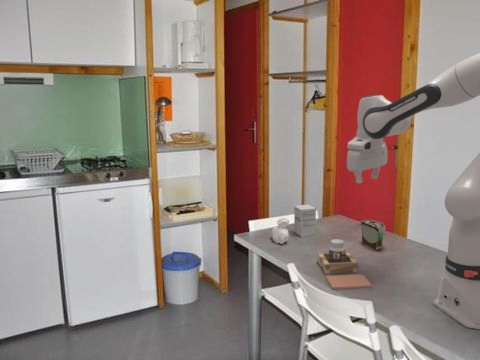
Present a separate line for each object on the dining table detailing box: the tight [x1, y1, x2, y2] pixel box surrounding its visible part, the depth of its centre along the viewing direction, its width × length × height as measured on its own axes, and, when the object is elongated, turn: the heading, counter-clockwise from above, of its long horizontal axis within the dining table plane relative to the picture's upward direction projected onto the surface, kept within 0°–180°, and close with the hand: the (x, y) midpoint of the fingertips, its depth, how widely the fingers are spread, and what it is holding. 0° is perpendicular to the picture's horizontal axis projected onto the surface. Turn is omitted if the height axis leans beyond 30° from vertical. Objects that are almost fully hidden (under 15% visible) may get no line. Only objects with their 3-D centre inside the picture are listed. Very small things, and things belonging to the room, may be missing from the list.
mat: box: [325, 273, 373, 290], centre depth 158 cm, size 9×13×1 cm
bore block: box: [317, 251, 359, 275], centre depth 172 cm, size 12×12×4 cm
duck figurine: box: [270, 217, 290, 245], centre depth 201 cm, size 12×8×11 cm
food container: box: [360, 219, 386, 252], centre depth 191 cm, size 12×6×10 cm, turn 22°
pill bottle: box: [328, 238, 346, 263], centre depth 171 cm, size 6×6×10 cm
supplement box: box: [293, 204, 317, 238], centre depth 209 cm, size 7×7×13 cm
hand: (366, 180), depth 166 cm, fingers open, 8 cm apart
